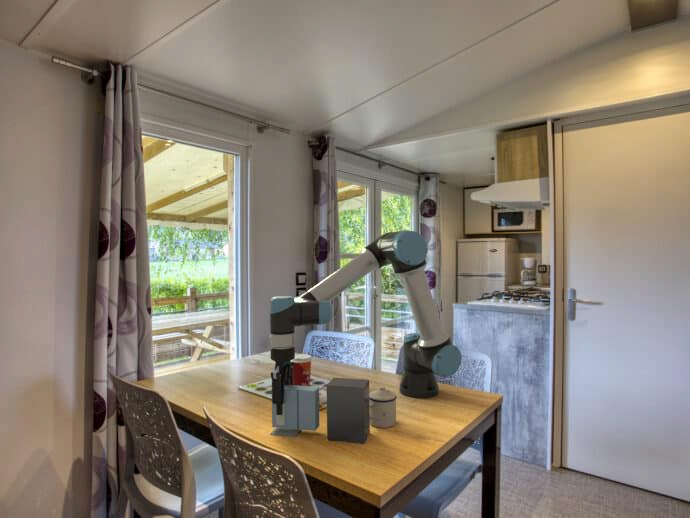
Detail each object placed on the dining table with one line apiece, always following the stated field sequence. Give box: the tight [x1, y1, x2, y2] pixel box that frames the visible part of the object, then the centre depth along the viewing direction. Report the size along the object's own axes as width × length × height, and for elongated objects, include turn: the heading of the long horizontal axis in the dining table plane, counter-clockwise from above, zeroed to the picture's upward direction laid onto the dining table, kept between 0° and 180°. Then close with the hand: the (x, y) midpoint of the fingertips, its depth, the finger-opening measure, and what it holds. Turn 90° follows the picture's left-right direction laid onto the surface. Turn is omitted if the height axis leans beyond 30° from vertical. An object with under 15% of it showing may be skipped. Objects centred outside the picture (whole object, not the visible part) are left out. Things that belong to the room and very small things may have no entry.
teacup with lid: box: [369, 385, 397, 429], centre depth 134 cm, size 12×9×12 cm
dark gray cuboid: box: [323, 377, 371, 445], centre depth 126 cm, size 12×8×16 cm, turn 76°
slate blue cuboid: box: [271, 385, 320, 432], centre depth 129 cm, size 14×4×12 cm, turn 76°
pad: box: [270, 427, 302, 438], centre depth 130 cm, size 8×8×1 cm
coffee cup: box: [290, 353, 313, 386], centre depth 163 cm, size 8×8×15 cm
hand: (283, 421), depth 131 cm, fingers closed on slate blue cuboid, 4 cm apart
